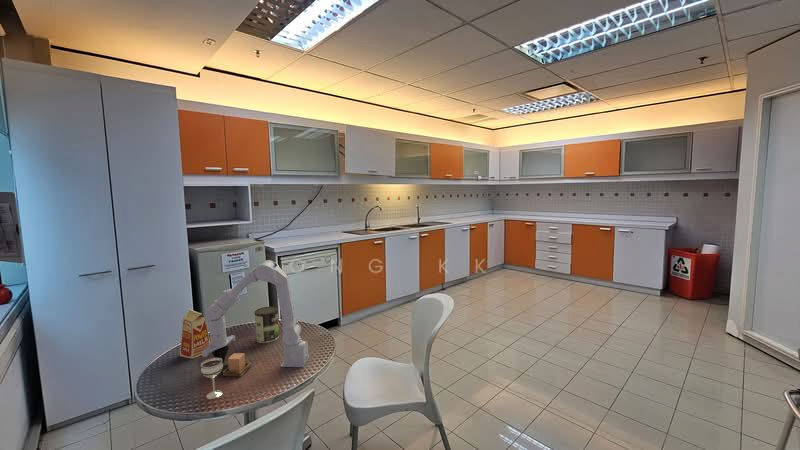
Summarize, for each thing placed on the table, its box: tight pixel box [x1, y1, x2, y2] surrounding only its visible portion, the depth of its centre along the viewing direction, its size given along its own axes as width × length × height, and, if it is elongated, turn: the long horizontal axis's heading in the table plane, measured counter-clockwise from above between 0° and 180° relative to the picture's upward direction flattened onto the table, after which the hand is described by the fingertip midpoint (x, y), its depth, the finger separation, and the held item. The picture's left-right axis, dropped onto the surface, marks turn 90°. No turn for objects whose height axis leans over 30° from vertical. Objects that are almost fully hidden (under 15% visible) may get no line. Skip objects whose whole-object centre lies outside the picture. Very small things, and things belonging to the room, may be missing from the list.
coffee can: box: [254, 306, 280, 344], centre depth 161 cm, size 10×10×14 cm
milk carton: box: [179, 308, 211, 359], centre depth 148 cm, size 9×9×20 cm
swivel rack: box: [221, 361, 252, 377], centre depth 133 cm, size 7×15×3 cm, turn 85°
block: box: [227, 352, 246, 372], centre depth 133 cm, size 4×4×6 cm
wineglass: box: [200, 357, 223, 400], centre depth 118 cm, size 7×7×12 cm
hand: (220, 364), depth 136 cm, fingers closed
